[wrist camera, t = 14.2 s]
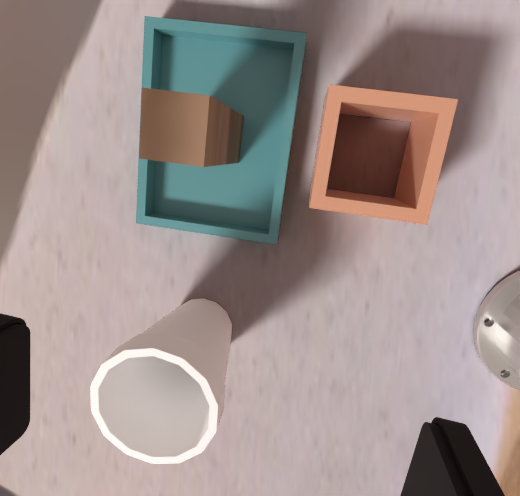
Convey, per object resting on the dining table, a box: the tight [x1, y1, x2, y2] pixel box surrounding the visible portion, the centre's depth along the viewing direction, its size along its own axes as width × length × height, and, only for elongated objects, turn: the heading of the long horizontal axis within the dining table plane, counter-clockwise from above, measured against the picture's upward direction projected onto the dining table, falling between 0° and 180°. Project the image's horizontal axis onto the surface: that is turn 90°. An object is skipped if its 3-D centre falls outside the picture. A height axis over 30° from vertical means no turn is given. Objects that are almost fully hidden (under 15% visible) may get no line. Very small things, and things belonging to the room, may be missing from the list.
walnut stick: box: [139, 88, 244, 167], centre depth 28 cm, size 4×4×12 cm
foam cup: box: [90, 298, 232, 464], centre depth 33 cm, size 10×9×13 cm
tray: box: [136, 16, 306, 244], centre depth 33 cm, size 13×17×2 cm
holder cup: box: [309, 85, 458, 225], centre depth 30 cm, size 8×8×7 cm
